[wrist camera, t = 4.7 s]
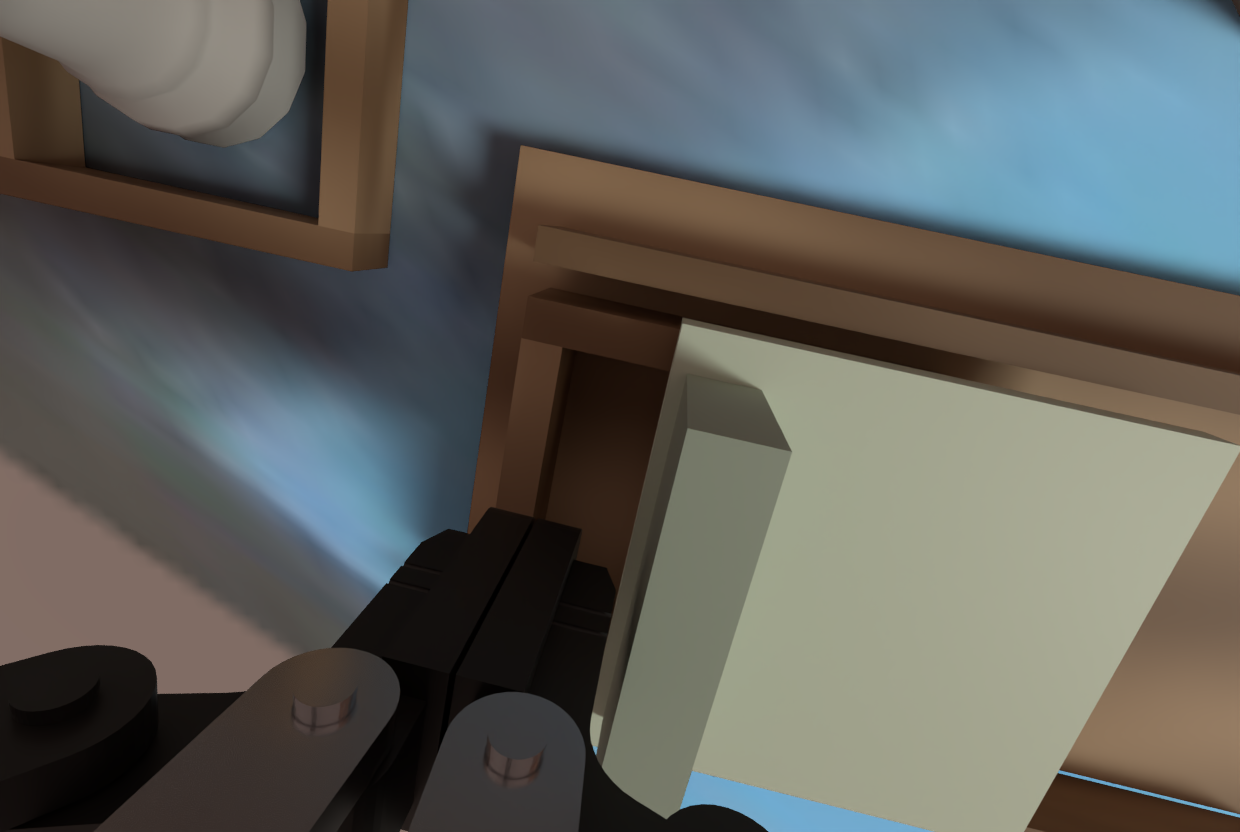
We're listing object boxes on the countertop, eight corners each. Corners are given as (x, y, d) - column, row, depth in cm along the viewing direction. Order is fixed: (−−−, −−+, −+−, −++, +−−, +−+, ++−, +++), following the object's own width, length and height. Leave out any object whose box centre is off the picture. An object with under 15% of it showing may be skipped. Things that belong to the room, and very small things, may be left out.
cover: (682, 317, 10) (681, 359, 6) (1203, 431, 9) (1484, 537, 6) (588, 715, 12) (553, 892, 9) (994, 817, 12) (1113, 1038, 9)
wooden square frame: (19, -243, 11) (-76, -312, 10) (421, -167, 11) (382, -226, 10) (57, 194, 14) (-16, 190, 12) (387, 267, 13) (352, 271, 12)
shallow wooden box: (535, 153, 12) (491, 129, 10) (1525, 361, 12) (1798, 401, 9) (468, 616, 16) (421, 698, 13) (1221, 800, 15) (1345, 930, 12)
